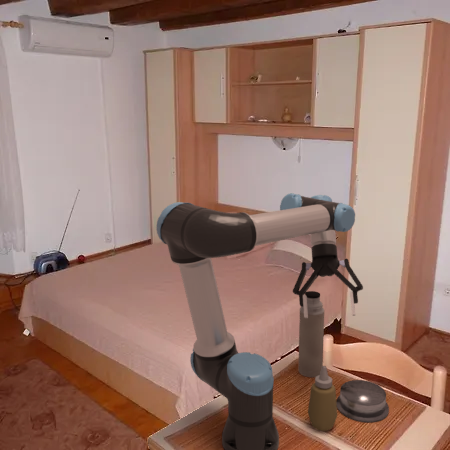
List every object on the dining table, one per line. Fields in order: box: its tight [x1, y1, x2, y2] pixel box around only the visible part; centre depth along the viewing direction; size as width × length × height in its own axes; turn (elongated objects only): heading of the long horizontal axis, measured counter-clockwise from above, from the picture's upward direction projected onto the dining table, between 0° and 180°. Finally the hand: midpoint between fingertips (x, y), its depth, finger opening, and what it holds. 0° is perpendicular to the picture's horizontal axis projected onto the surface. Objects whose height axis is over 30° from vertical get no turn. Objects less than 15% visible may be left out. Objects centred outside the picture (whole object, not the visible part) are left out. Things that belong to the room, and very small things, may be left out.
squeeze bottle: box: [307, 365, 338, 432], centre depth 135 cm, size 8×8×18 cm
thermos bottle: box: [297, 290, 325, 378], centre depth 162 cm, size 8×8×28 cm
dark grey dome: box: [336, 379, 390, 424], centre depth 145 cm, size 15×15×5 cm
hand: (329, 316), depth 142 cm, fingers open, 13 cm apart
